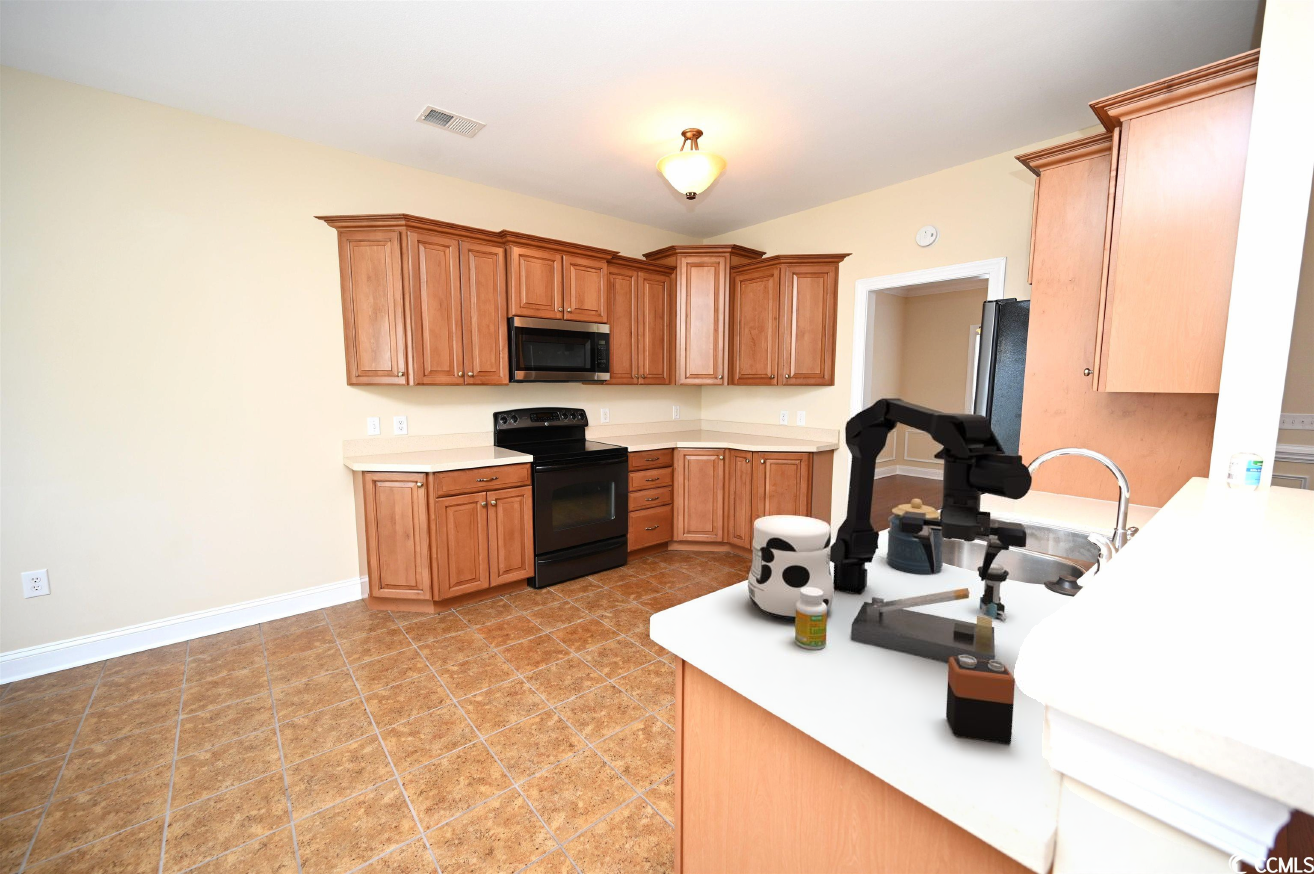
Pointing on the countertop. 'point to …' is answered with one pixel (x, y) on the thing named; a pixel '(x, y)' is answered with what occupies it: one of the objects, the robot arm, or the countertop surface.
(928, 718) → the countertop surface
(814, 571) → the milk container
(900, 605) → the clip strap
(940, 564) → the canister
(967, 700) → the battery
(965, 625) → the grey lever base
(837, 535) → the robot arm
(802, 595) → the supplement bottle
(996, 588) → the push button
